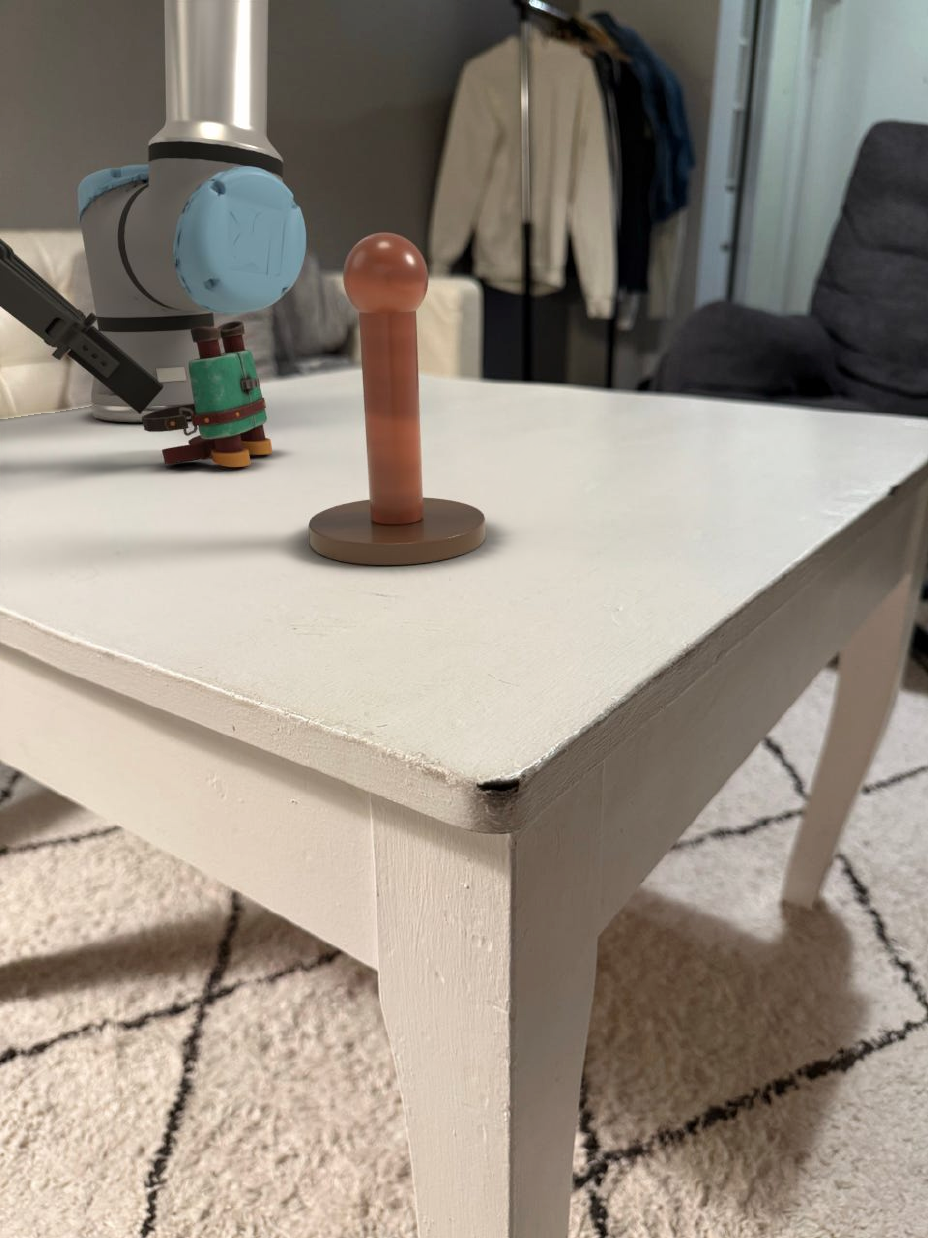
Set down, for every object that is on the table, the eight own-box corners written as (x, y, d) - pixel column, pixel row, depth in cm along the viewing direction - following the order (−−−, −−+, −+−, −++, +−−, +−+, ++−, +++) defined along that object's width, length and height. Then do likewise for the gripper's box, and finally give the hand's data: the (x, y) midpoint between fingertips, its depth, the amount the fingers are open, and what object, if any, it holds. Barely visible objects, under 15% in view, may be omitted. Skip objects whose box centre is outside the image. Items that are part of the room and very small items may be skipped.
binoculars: (156, 330, 76) (268, 316, 73) (184, 457, 79) (292, 447, 77) (96, 339, 67) (220, 324, 65) (131, 480, 71) (250, 470, 69)
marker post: (301, 523, 56) (276, 236, 50) (459, 509, 58) (453, 233, 52) (321, 574, 47) (294, 230, 41) (507, 554, 49) (507, 227, 43)
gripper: (-142, 204, 68) (126, 422, 77) (-215, 190, 56) (113, 450, 66) (-78, 126, 67) (184, 356, 77) (-138, 94, 55) (181, 372, 65)
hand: (151, 399), depth 71 cm, fingers closed
